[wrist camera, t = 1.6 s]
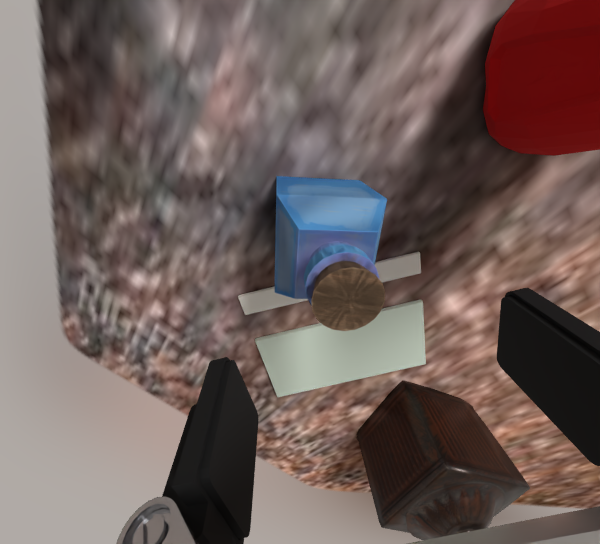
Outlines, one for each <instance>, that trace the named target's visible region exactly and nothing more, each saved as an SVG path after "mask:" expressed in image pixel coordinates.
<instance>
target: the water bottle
mask: <svg viewBox="0 0 600 544" xmlns="http://www.w3.org/2000/svg"><path fill="white" fill-rule="evenodd" d="M485 74H486V92H485V99H484V106H483V112H484V116H485V120H486V125H487V129H488V133H489V135H491V136H492V137H493V138H494V139H495V140H496V141H497V142H498V143H499V144H500V145H501V146H503V147H506V148H508V149H511V150H513V151H516V152H519V153H526V154H540V155H553V156H554V155H561V154H569V153H576V152H584V151H592V150H599V149H600V0H515V1H514V2H513V3H512V5H511V6H510V7H509V9H508V10H507V11H506V13H505V14H504V15H503V17H502V18H501V19H500V21H499V22H498V23H497V25H496V26H495V30H494V33H493V37H492V41H491V44H490V48H489V51H488V55H487V59H486V62H485Z"/></svg>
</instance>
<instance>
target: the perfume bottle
mask: <svg viewBox="0 0 600 544" xmlns="http://www.w3.org/2000/svg"><path fill="white" fill-rule="evenodd" d="M386 203H387V199H386V198H385V197H383V196H382V195H380V194H379V193H377V192H376V191H374V190H373V189H371V188H370V187H369V186H367V185H366V184H364V183H363V182H361V181H360V180H342V179H322V178H301V177H281V176H277V191H276V237H275V293H278V294H281V295H284V296H288V297H291V298H294V299H308V300H309V302H310V304H311V306H312V311H313V313H314V315H315V317H316V319H317V320H318V321H319V322H320V323H322V324H323V325H324V326H326V327H328V328H330V329H333V330H339V331H349V330H356V329H358V328H361V327H363V326H366V325H367V324H368V323H370V322H371V321H373V320H374V319H375V318H376V317H377V315H378V314H379V313H380V312H381V310H382V307H383V305H384V302H385V290H384V287H383V284H382V282H381V281H380V280H379V275H378V272H377V269H376V267H375V261H376V255H377V250H378V245H379V240H380V234H381V229H382V224H383V219H384V214H385V208H386Z"/></svg>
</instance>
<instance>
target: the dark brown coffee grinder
mask: <svg viewBox="0 0 600 544" xmlns="http://www.w3.org/2000/svg"><path fill="white" fill-rule="evenodd" d="M357 439H358V441H359V444H360V448H361V452H362V456H363V460H364V464H365V468H366V472H367V476H368V480H369V484H370V488H371V492H372V495H373V499H374V503H375V507H376V511H377V515H378V519H379V522H380V525H381V527H383V528H387V529H392V530H398V531H403V532H408V533H411V534H412V535H413V536H414V537H416V538H419V539H421V540H429V539H434V538H439V537H444V536H449V535H454V534H459V533H464V532H469V531H474V530H480V529H485V528H487V527H488V526H489V525H490V524H491V521H492V518H493V517H494V516H495V515H496V514H498V513H499V512H501V511H502V510H503V509H505V508H506V507H507V506H509V505H510V504H511V503H512V502H514V501H515V500H516V499H517V498H519V497H520V496H521V495H522V494H523V493H525V492H526V491H527V490H528V489H530V487H529V485H528V484H527V482H526V481H525V479H524V478H523V476H522V475H521V474H520V472H519V471H518V469H517V468H516V467H515V465H514V464H513V462H512V461H511V460H510V458H509V457H508V455H507V454H506V452H505V451H504V450H503V448H502V447H501V445H500V444H499V443H498V441H497V440H496V439H495V437H494V436H493V434H492V433H491V432H490V430H489V429H488V428H487V426H486V425H485V423H484V422H483V421H482V420H481V418H480V417H479V416H478V414H477V413H476V412H475V410H474V408H473V406H471V405H470V404H469V403H467V402H466V401H464V400H462V399H460V398H458V397H455V396H452V395H449V394H446V393H443V392H440V391H437V390H435V389H431V388H428V387H424V386H421V385H417V384H414V383H410V382H407V381H402V382H401V383H400V384H399V385H398V386H397V387H396V388H395V389H394V390H393V391H392V392H391V393H390V394H389V395H388V397H387V398H386V399H385V400H384V401H383V402H382V404H381V405H380V406H379V407H378V408H377V409H376V411H375V412H374V413H373V414H372V415H371V416H370V418H369V419H368V420H367V421H366V422H365V423H364V425H363V426H362V427H361V428H360V429H359V431H358V434H357Z"/></svg>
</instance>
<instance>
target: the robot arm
mask: <svg viewBox="0 0 600 544" xmlns="http://www.w3.org/2000/svg"><path fill="white" fill-rule="evenodd" d="M497 361H498V363H499V365H500V367H501V368H502V369H503V370H504V371H505V372H506V373H507V374H508V375H509V376H510V377H511V379H512V380H513V381H514V382H515V383H516V384H517V385H518V386H519V387H520V388H521V389H522V390H523V391H524V392H525V393H526V394H527V395H528V397H529V398H530V399H531V400H532V401H533V402H534V403H535V404H536V405H537V406H538V407H539V408H540V409H541V410H542V411H543V412H544V413H545V415H546V416H547V417H548V418H549V419H550V420H551V421H552V422H553V423H554V424H555V425H556V426H557V427H558V428H559V429H560V430H561V431H562V432H563V434H564V435H565V436H566V437H567V438H568V439H569V440H570V441H571V442H572V443H573V444H574V445H575V446H576V447H577V448H578V449H579V450H580V452H581V453H582V454H583V455H584V456H585V457H586V458H587V459H588V460H589V461H590V462H591V463H593V464H594V465H597V466H600V332H599V331H597V330H596V329H594V328H592V327H591V326H589V325H587V324H586V323H584V322H583V321H581V320H579V319H578V318H576V317H575V316H573V315H571V314H570V313H568V312H567V311H565V310H563V309H562V308H560V307H559V306H557V305H555V304H554V303H552V302H550V301H549V300H547V299H546V298H544V297H542V296H541V295H539V294H538V293H536V292H534V291H533V290H531V289H529V288H523V289H519V290H515V291H510V292H508V293H506V295H505V297H504V298H503V299H502V301H501V311H500V323H499V336H498V348H497ZM257 432H258V413H257V410H256V408H255V405H254V403H253V401H252V399H251V396H250V394H249V392H248V390H247V387H246V385H245V383H244V381H243V378H242V376H241V374H240V372H239V369H238V367H237V365H236V363H235V361H234V360H231V361H230V360H229V358H228V357H226V358H221V359H217V360H213V361H211V362H210V363H209V366H208V370H207V373H206V376H205V379H204V383H203V386H202V389H201V392H200V396H199V399H198V402H197V404H196V405H194V406H193V407H192V408H191V410H190V412H189V415H188V419H187V422H186V425H185V428H184V431H183V434H182V437H181V440H180V443H179V446H178V450H177V452H176V456H175V459H174V462H173V465H172V468H171V471H170V474H169V477H168V480H167V484H166V486H165V490H164V493H163V496H162V497H157V498H154V499H152V500H150V501H148V502H146V503H145V504H144V505H142V506H141V507H140V508H138V510H137V511H136V512H135V513H134V514H133V515H132V516H131V517H130V518H129V520H128V521H127V523H126V524H125V526H124V527H123V529H122V532H121V534H120V536H119V538H118V540H117V544H243V542H244V538H245V537H248V536H249V532H250V524H251V511H252V498H253V485H254V471H255V458H256V445H257ZM409 544H600V506H599V507H594V508H589V509H584V510H579V511H573V512H568V513H562V514H557V515H552V516H547V517H542V518H536V519H531V520H526V521H521V522H516V523H511V524H505V525H500V526H495V527H490V528H485V529H480V530H474V531H469V532H464V533H459V534H454V535H449V536H444V537H439V538H434V539H429V540H424V541H418V542H413V543H409Z"/></svg>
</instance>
